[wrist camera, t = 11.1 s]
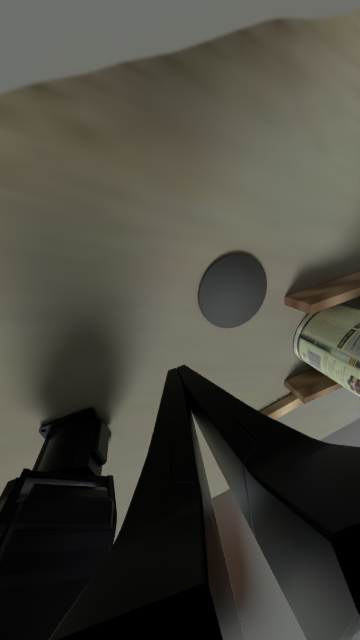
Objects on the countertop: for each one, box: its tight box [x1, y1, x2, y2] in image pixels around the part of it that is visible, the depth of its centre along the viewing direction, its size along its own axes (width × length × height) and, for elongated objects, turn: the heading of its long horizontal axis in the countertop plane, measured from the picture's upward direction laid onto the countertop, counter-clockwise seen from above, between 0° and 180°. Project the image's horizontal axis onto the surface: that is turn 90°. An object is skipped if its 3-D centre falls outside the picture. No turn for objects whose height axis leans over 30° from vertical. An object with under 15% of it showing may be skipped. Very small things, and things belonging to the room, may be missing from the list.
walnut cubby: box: [285, 271, 360, 404], centre depth 28 cm, size 15×16×4 cm
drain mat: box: [198, 254, 267, 328], centre depth 23 cm, size 9×9×1 cm
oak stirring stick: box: [261, 394, 302, 419], centre depth 33 cm, size 14×2×2 cm, turn 113°
